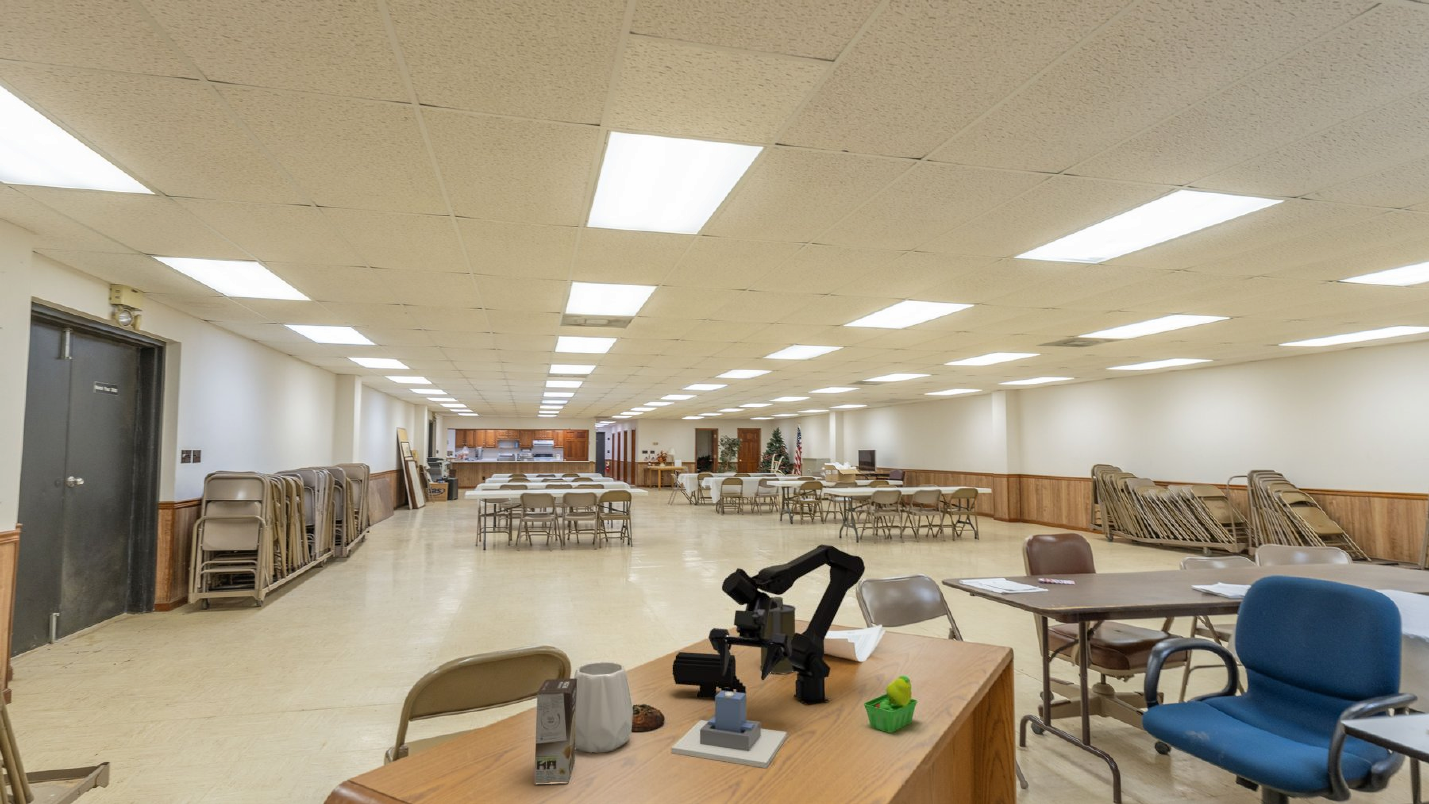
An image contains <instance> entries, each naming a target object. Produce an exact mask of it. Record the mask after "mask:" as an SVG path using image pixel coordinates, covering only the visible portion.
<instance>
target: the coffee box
mask: <svg viewBox="0 0 1429 804" xmlns="http://www.w3.org/2000/svg"><path fill="white" fill-rule="evenodd" d="M576 696H577V679H576V678H575V679H574V678H572V677H571V678H570V677H569V678H555V679H554V678H552V679H545V681H544V682H543V684H542V685H541V687H540V688H539V689H538V690H537V693H536V718H535V719H536V720H535V721H536V722H535V723H536V725H535V748H534V749H535V753H534V755H535V756H534V758H535V759H534V780H533V781H534V782H533V783H534V784H536V783H550V782H568V783H569V782H570V779H571V776H570V775H572V773H573V769H574V767H575V763H576V749H575V736H576Z"/></svg>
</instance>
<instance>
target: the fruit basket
mask: <svg viewBox="0 0 1429 804" xmlns="http://www.w3.org/2000/svg"><path fill="white" fill-rule="evenodd" d="M885 691H886V693H883V694H882V695H880V696H877V697H875V698H872V699H871V700H868V701H865V702H863V706H864V708H865V710H866V713H867V717H868V720H869V724H870V725H869V726H870V727H871V728H873V729H876V730H879V731H883V732H886V733H889V734H892V733H894V732H896V731H898V730H900V729H901V728H904V727H906V726H908V725H910V724H912V721H913V716H914V712H915V708H916V705H917V703H918V700H917V699H913V698H912V683H911V679H910V678H909V677H908V676H905V675H899V677H898V678H896V679H895V680H893V681H892V682H890V683H889V684H888V685H887V686H886V688H885Z"/></svg>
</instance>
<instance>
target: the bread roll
mask: <svg viewBox="0 0 1429 804" xmlns="http://www.w3.org/2000/svg"><path fill="white" fill-rule="evenodd" d="M632 708H633V719H632V730H631V733H632V732H634V733H635V732H649V731H653V730H658V729H659V728H661V727H663V726H664V724H665V719H666V718H665V716H664V714H663V713H662V712H661V710H660V709H657V708H656V707H654V706H651V705H650V704H646V703H642V704H632Z"/></svg>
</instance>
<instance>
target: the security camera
mask: <svg viewBox="0 0 1429 804" xmlns="http://www.w3.org/2000/svg"><path fill="white" fill-rule="evenodd" d="M736 662H737V661H736V655H734V654H730V658H729V662H728V666H727V670H726V673H725V675H724V676H722V674H721V662H720V654H719V653H718V654H717V653H704V652H703V653H700V652H685V651H679V652H678V653H677V654H676V655H675V658H674V660H673V664H672V675H673V680H674V683H675V685H683V686H696V687H698V686H699V691H698V692H697V693H696V698H701V699H702V698H703V699H714V700H715V696H716V695H717V689H720V692H721V691H730V692H738V693H746V694H747V691H746V689H747V688H746V685H743V682H740V679H739V678H738V676H737V674H736V673H737V671H736V669H737V668H736V664H737V663H736Z"/></svg>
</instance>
